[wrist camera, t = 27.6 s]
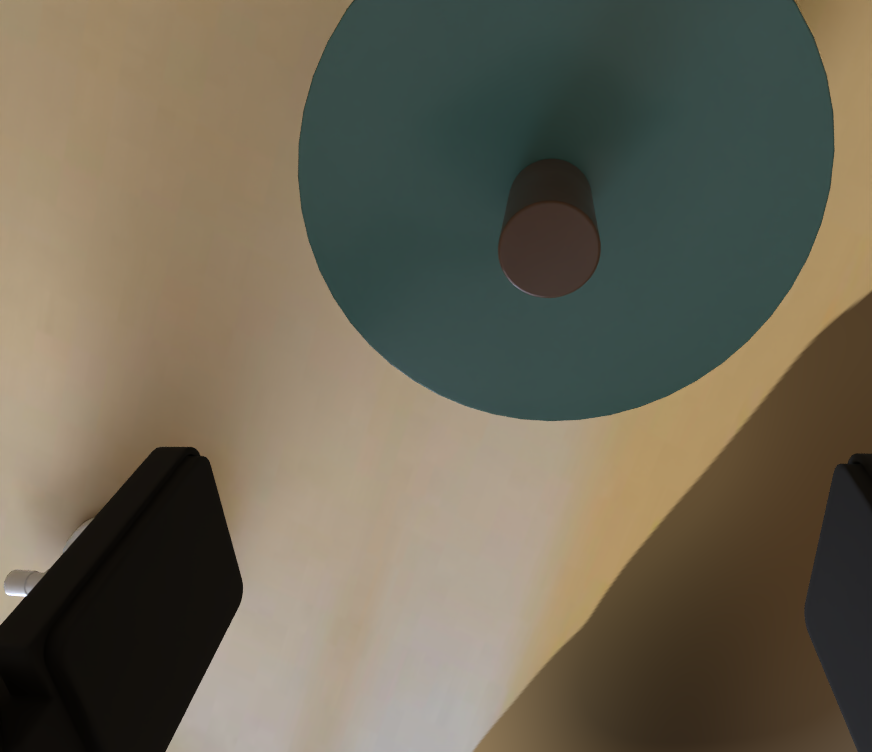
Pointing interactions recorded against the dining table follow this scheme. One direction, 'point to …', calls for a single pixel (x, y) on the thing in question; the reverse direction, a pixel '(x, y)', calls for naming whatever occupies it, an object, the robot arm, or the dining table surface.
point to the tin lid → (564, 190)
